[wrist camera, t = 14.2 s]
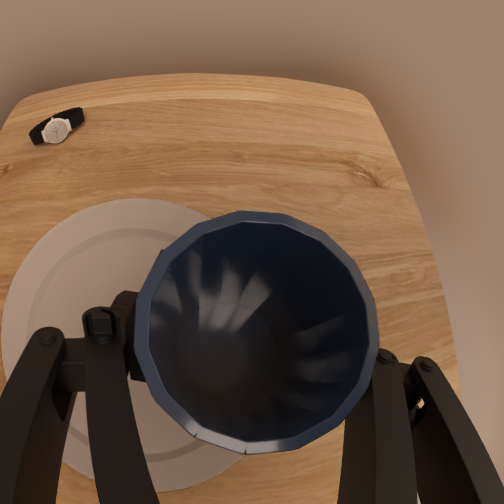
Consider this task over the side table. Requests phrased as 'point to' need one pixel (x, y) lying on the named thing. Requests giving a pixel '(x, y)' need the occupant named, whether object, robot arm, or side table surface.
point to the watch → (57, 126)
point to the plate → (103, 294)
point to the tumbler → (256, 332)
